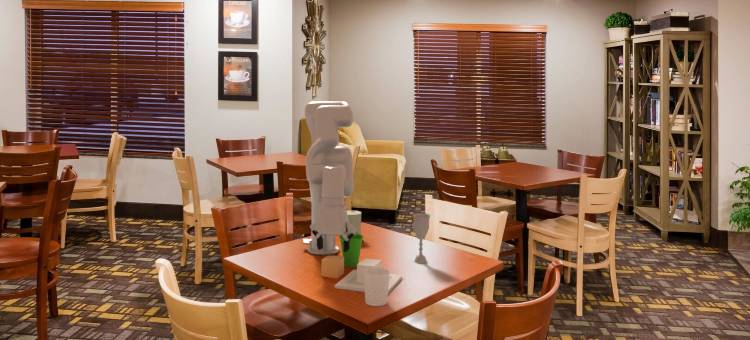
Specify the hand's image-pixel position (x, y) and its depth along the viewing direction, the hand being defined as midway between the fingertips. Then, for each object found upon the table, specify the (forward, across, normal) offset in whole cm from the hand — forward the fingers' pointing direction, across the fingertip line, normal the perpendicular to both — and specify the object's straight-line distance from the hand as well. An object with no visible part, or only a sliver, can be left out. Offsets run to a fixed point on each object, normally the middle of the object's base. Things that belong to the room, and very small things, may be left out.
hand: (333, 250), depth 213 cm
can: (+8, -12, +51) cm, 53 cm away
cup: (+9, +2, +14) cm, 17 cm away
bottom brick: (+8, +14, -3) cm, 17 cm away
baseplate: (+9, +14, -3) cm, 17 cm away
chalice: (+9, +24, +28) cm, 38 cm away
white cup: (+10, +22, -20) cm, 32 cm away
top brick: (+9, 0, +1) cm, 9 cm away
